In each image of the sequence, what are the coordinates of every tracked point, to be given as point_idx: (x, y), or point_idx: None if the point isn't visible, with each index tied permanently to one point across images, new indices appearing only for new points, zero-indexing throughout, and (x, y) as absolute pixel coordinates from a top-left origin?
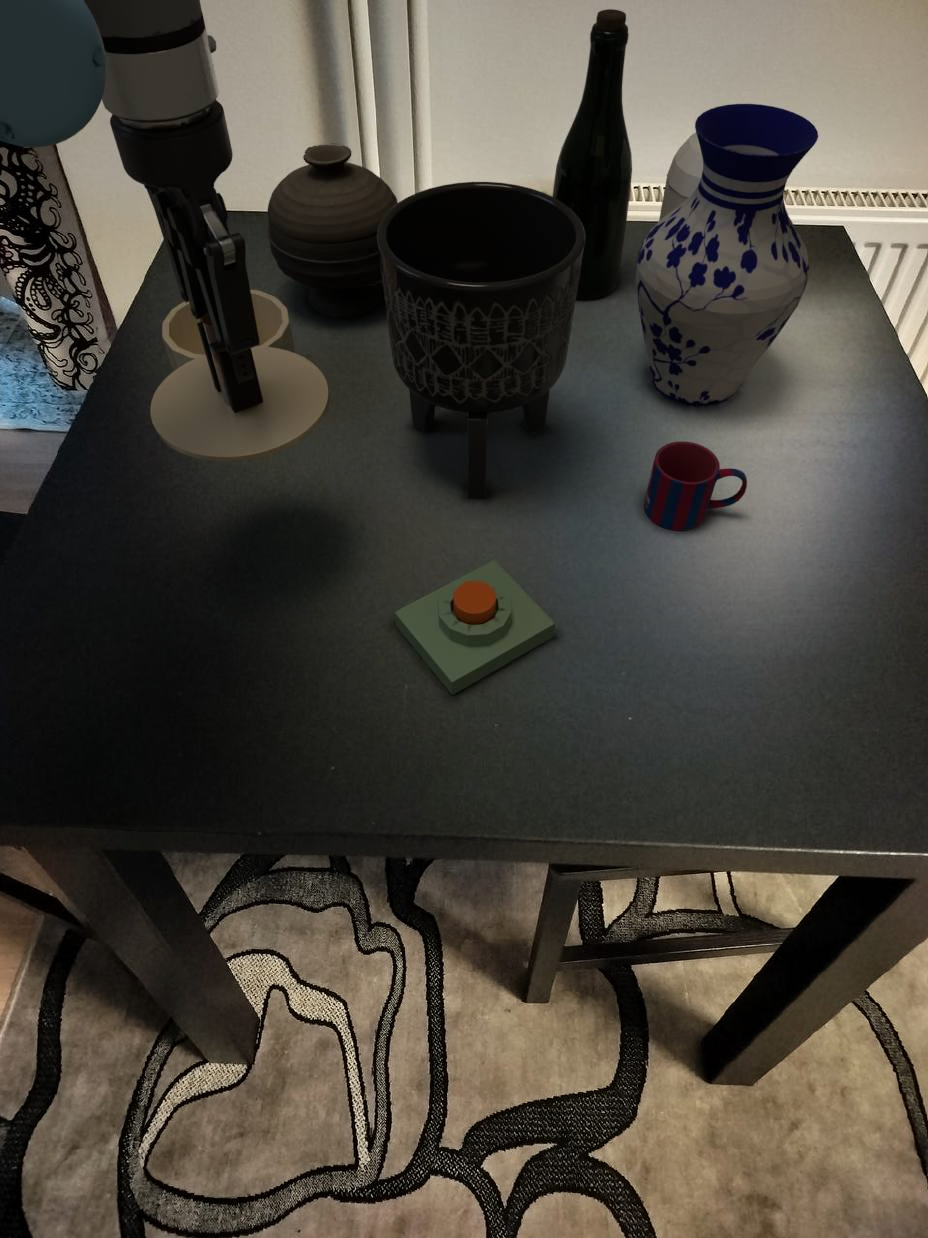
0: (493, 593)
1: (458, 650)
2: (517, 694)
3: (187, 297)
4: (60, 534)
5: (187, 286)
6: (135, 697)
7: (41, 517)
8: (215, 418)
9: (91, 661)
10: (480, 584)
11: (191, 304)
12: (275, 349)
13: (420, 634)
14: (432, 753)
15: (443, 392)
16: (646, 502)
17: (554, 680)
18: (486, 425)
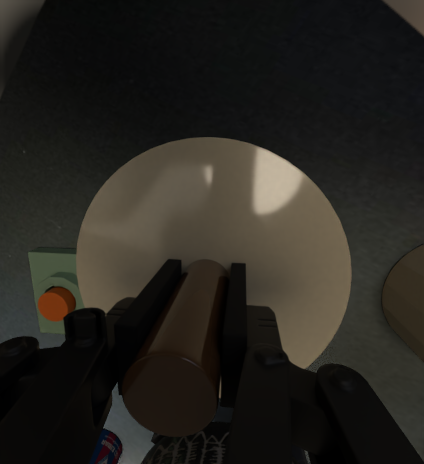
0: (48, 319)
1: (48, 270)
2: (23, 279)
3: (318, 383)
4: (375, 48)
5: (263, 439)
6: (146, 45)
7: (416, 36)
8: (180, 229)
9: (201, 22)
10: (60, 317)
11: (269, 374)
12: None
13: (72, 258)
14: (7, 212)
15: (169, 447)
16: (107, 439)
17: (23, 303)
18: (153, 434)
